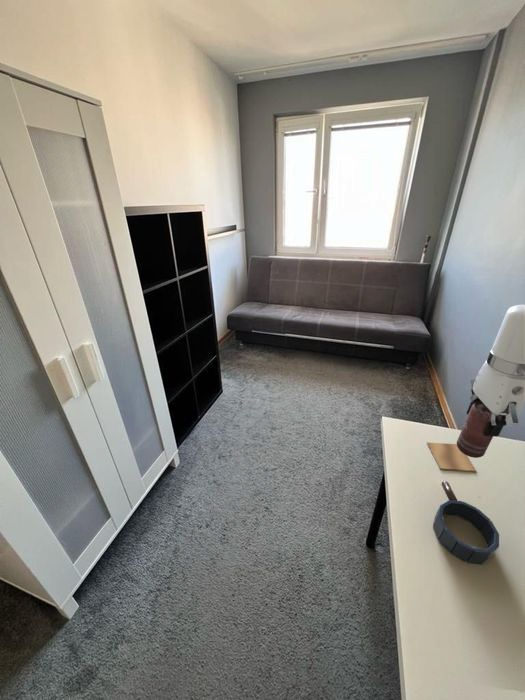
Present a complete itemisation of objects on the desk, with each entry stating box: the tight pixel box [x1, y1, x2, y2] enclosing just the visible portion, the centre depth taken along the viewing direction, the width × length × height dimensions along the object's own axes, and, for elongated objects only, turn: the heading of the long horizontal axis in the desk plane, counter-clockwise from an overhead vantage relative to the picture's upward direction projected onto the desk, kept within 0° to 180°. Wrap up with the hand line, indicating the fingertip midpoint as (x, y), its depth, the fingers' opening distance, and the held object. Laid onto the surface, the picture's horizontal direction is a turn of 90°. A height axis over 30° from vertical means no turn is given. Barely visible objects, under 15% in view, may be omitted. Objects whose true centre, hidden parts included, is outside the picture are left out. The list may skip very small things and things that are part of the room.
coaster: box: [426, 441, 477, 473], centre depth 87 cm, size 10×10×1 cm
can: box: [456, 401, 502, 459], centre depth 69 cm, size 6×6×14 cm
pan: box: [432, 480, 500, 565], centre depth 68 cm, size 12×18×5 cm, turn 173°
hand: (481, 424), depth 68 cm, fingers closed on can, 6 cm apart
